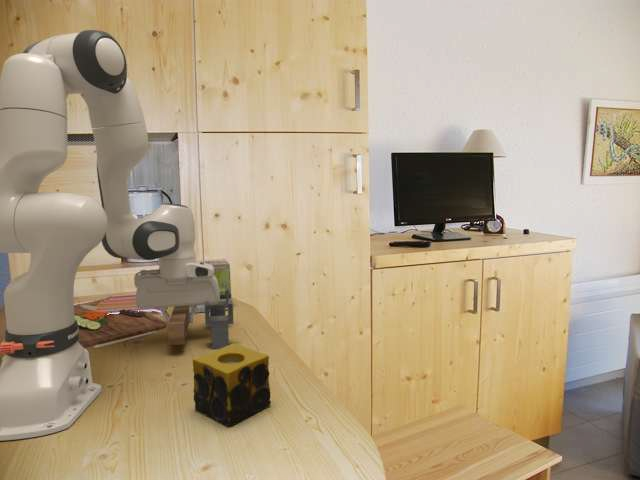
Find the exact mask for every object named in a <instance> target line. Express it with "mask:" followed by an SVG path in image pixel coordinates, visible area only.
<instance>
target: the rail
mask: <svg viewBox="0 0 640 480" xmlns="http://www.w3.org/2000/svg"><path fill="white" fill-rule="evenodd" d="M190 314H191V313H190V312H189V306H174V307H173V310H172V312H171V315H170V316H171V317H170V320H169V322H168V324H167V334H168V336H167V337H168V338H167V339H168V346H173V345H174V346H177V345H185V342H186V339H187V334H188V329H189V326H190V323H187V318H186V317H187V315H190Z"/></svg>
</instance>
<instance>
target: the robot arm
mask: <svg viewBox="0 0 640 480" xmlns="http://www.w3.org/2000/svg"><path fill="white" fill-rule="evenodd" d="M76 94H77V95H79V94H80V97H81V99H83V101H84V103H86V105H87V109H88V115H89V116H88V117H89V121H90V126H91V130H92V136H93V141H94V146H95V151H96V153H95V154H96V174H97V175H96V176H97V183H98V189H99V196H100V201H98V200H97V199H96V198H94V197H93V196H87V195H83V194H78V193H72V192H39V190H40V187H41V184H42V183H43V181H44V180H45V178H47V177H48V175H50V174H52V173H54V172H56V171H57V170H59V169H60V168H62V167H63V166H64V164H65V163H66V161H67V158H68V105H67V99H68V97H69V95H76ZM148 150H149V135H148V129H147V126H146V121H145V116H144V113H143V109H142V105H141V103H140V100H139V97H138V93H137V92H136V90H135V87H134V85H133V83H132V81H131V79H129V77H128V65H127V60H126V55H125V52H124V50H123V48H122V46H121V45H120V43H118V41H117V40H116V38H115V37H114V36H113V35H111V34H110V33H109V32H106V31H103V30H97V29H96V30H95V29H86V30H82V31H80V32H73V33H64V34H63V33H62V34H57V35H55V36H54V35H53V36H52V37H48V38H45V39H44V40H39V41H35V42H33V43H31V44H30V45H29V46H27V47H26V48H25V49H24V51H23V52H22V53H17V54H14V55H11V56H10V57H8V58H7V59H6V60H5V62H4V64H3V66H2V70H1V75H0V254H30V263H29V266H28V269H27V271H25V272H23V273H21V274H20V275H18V276H16V277H14V278H13V279H12V280H11V281H10V282H9V283H8V284H7V286H6V288H5V289H4V292H3V301H4V312H5V321H6V330H5V331H4V338H3V342H1V343H0V354H1V355H3V357H2V358H1V359H2V361H1V363H0V441H13V440H14V441H15V440H22V439H29V438H35V437H41V436H46V435H51V434H54V433H57V432H60V431H63V430H66V429H68V428H71V426H72V425H73V424H74V423H75V422H76V420H77V419H78V418H79V417H80V416H81V415H82V414H83V413H84V412H85V410H87V408H88V407H89V406H90V405H91V404H92V403H93V402H94V400H95V399H96V398H97V397H98V396H99V395H100V393H101V392H102V391H103V390H102V385H101V384H99V383H95V382H93V377H92V370H91V369H92V368H91V363H90V354H89V351H88V350H87V348H84V347H82V346H81V345H80V343H79V342H78V339H79V327H78V323H77V320H75V316H74V304H75V300H74V298H75V297H74V296H75V295H74V294H75V292H74V291H75V288H74V287H75V280H76V275H77V272H78V270H79V268H80V265H81V263H82V262H83V260H84V259H85V257H86V256H88V254H89V253H91V252H92V251H93V250H94V249H95V248H97V247H98V245H100V243H102V247H103V248H104V250H105V251H106V252H107V254H108V255H110V256H111V257H113V258H117V259H132V260H141V261H155V260H157V259H158V268H157V269H149V270H147V269H141V270H140V271H138V272H136V273H135V274H134V277H133V280H134V281H133V283H134V286H135V287H136V292H135V305H136V306H137V307H138V309H147V308H148V309H149V308H150V309H152V308H160V312H161V313H162V315H163V317H164V318H165V322H166V324H167V325H168V322H169V320H170V317H171V315H169V313H168V309H169V307H170V308H171V307H172V308H174V307H175V306H191V310H192V312H191V313H190V315H187V317H186V318H187V323H189V324H193V323H194V315H195V314H196V313H195V312H196V310H197V305H205V301H209V305H216V304H218V303H219V301H220V292H219V285H218V281H217V278H216V277H215V275H213V274H214V267H213V265H211V264H207V263H203V262H200V261H201V260H197V256H196V255H197V254H196V252H195V243H196V227H195V219H194V215H193V211H192V209H191V208H190V207H188V206H187V205H183V204H177V203H169V202H168V203H167V202H165V203H162V204H160V205H159V206H158V207H157V209H155V210H154V211H153V212H151V213H149V214H148V215H145V216H144V217H142V218H136V217H135V216H134V214H133V213H132V209H131V204H130V203H131V201H130V195H129V188H128V187H129V186H128V180H129V176H130V174H131V171H132V170H133V169H134V168H135V167H136V166H138V164H140V163H141V162H142V160H144V158H145V156H146V155H147V153H148ZM100 202H101V203H100Z"/></svg>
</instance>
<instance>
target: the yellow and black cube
mask: <svg viewBox="0 0 640 480" xmlns="http://www.w3.org/2000/svg"><path fill="white" fill-rule="evenodd" d="M269 359H270V356H269V355H268V354H266V353H263V352H260V351H257V350H255V349H252V348H249V347H245V346H243V345H241V344H238V343H234V342H233V343H231V344H229V345H228V346H226V347H223V348H221V349H214V351H211V352H208V353H204V354H203V355H200V356H197V357H195V358H193V359H192V367H193V368H192V372H193V400H194V409H195V411H196V412H199V413H200V414H202V415H205V416H206V417H207V418H210V419H212V420H214V421H216V422H217V423H221V424H222V425H224V426H225V427H228V428H230V427H232V426H235V425H237V424H239V423H241V422H243V421H244V420H246V419H249V418H251V417H252V416H254V415H257V414H258V413H259V412H261V411H263V410H265V409H267V408H269V407H270V406H271V402H272V401H271V400H270V399H271V390H270V389H271V388H270V381H269V380H270V371H269V363H270V361H269Z"/></svg>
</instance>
